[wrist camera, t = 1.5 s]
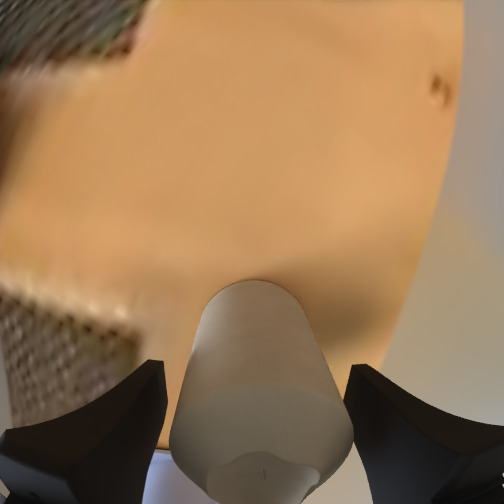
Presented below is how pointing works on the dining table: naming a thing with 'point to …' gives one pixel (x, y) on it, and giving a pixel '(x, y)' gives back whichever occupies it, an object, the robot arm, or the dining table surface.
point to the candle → (258, 402)
